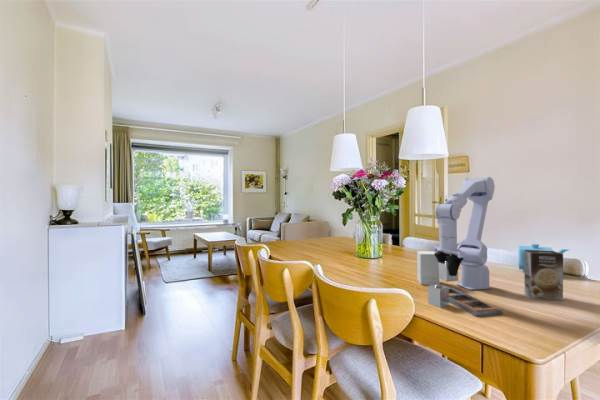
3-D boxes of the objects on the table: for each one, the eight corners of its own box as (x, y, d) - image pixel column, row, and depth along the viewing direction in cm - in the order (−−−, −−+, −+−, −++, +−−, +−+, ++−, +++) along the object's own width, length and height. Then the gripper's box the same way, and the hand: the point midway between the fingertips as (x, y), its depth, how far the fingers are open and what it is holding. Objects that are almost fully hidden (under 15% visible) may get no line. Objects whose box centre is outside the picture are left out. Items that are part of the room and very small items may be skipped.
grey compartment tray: (451, 290, 112) (451, 286, 112) (502, 313, 90) (502, 309, 90) (430, 292, 111) (430, 288, 111) (476, 316, 88) (475, 311, 88)
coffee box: (531, 299, 102) (530, 252, 101) (523, 293, 108) (523, 249, 108) (564, 301, 99) (563, 254, 98) (554, 295, 105) (554, 250, 105)
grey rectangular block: (449, 277, 110) (449, 260, 110) (458, 280, 105) (457, 262, 105) (438, 278, 109) (438, 260, 109) (446, 281, 105) (446, 263, 105)
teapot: (519, 273, 134) (519, 245, 133) (518, 266, 146) (518, 240, 146) (573, 279, 123) (572, 248, 123) (566, 271, 136) (566, 243, 136)
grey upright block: (436, 300, 102) (436, 282, 102) (448, 304, 98) (448, 285, 98) (428, 303, 100) (427, 284, 100) (440, 307, 96) (439, 287, 96)
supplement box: (439, 285, 119) (439, 254, 119) (420, 284, 120) (419, 254, 120) (435, 280, 126) (434, 251, 126) (417, 279, 128) (416, 250, 128)
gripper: (426, 234, 114) (426, 269, 114) (451, 239, 99) (452, 280, 99) (442, 233, 115) (443, 268, 115) (470, 238, 100) (470, 278, 101)
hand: (448, 273), depth 107 cm, fingers closed on grey rectangular block, 4 cm apart
